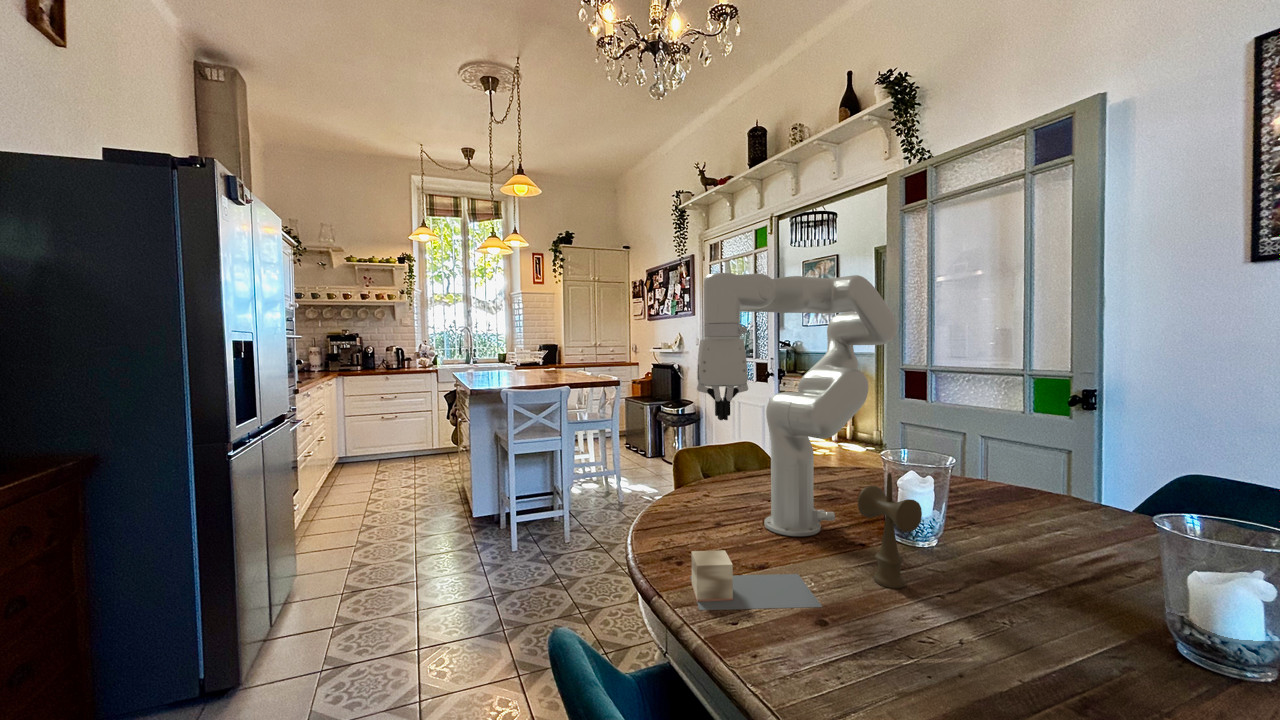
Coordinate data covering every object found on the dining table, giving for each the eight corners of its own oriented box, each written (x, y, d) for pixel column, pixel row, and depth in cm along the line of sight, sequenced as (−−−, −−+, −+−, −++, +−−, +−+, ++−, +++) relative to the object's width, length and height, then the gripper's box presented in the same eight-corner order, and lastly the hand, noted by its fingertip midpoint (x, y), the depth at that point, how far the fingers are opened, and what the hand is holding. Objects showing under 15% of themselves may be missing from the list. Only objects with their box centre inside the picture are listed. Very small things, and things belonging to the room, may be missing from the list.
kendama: (880, 570, 98) (881, 465, 97) (924, 593, 89) (925, 477, 88) (855, 575, 96) (855, 468, 95) (898, 599, 86) (898, 481, 86)
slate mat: (797, 576, 96) (797, 573, 96) (822, 609, 84) (822, 606, 84) (690, 578, 95) (690, 576, 95) (699, 612, 83) (699, 609, 83)
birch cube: (691, 551, 92) (691, 584, 92) (696, 565, 86) (697, 601, 86) (725, 550, 92) (725, 583, 92) (732, 564, 86) (732, 600, 86)
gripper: (752, 332, 113) (753, 416, 113) (684, 333, 112) (685, 417, 113) (761, 331, 105) (762, 421, 106) (688, 332, 105) (689, 422, 106)
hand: (722, 419), depth 109 cm, fingers closed
